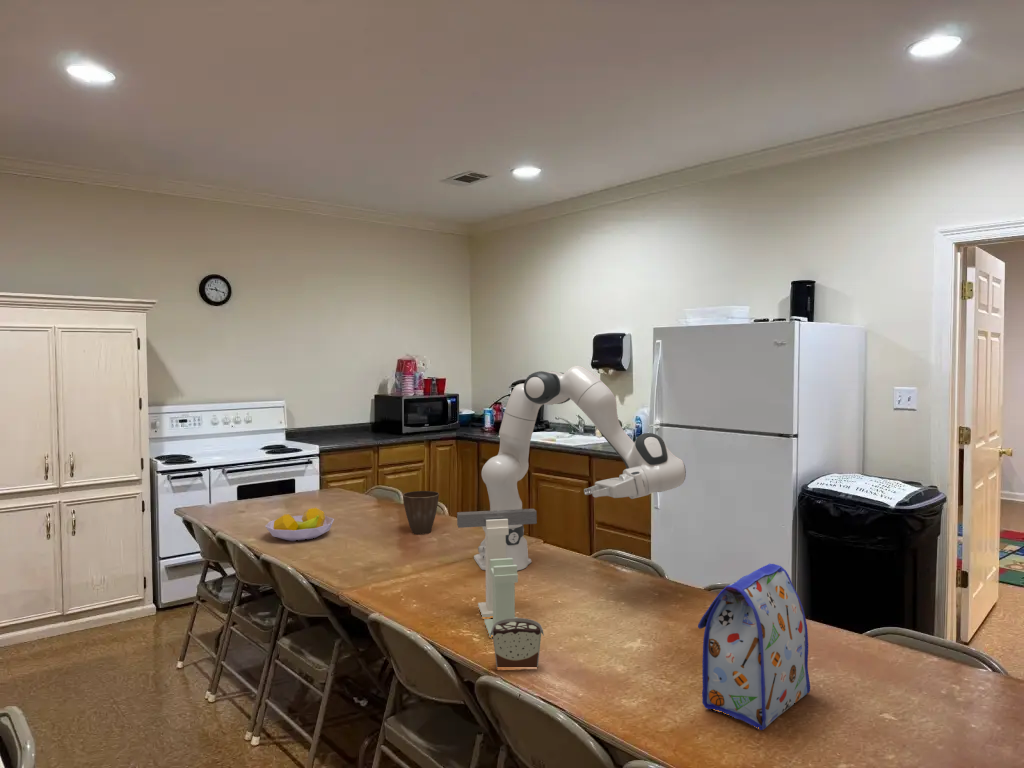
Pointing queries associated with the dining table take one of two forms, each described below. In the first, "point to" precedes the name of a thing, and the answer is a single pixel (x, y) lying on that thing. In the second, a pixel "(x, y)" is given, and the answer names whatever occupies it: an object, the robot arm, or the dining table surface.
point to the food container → (517, 642)
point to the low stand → (502, 590)
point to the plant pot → (421, 510)
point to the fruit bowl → (300, 525)
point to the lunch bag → (755, 648)
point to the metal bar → (496, 517)
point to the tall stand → (493, 557)
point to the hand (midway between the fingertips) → (588, 493)
